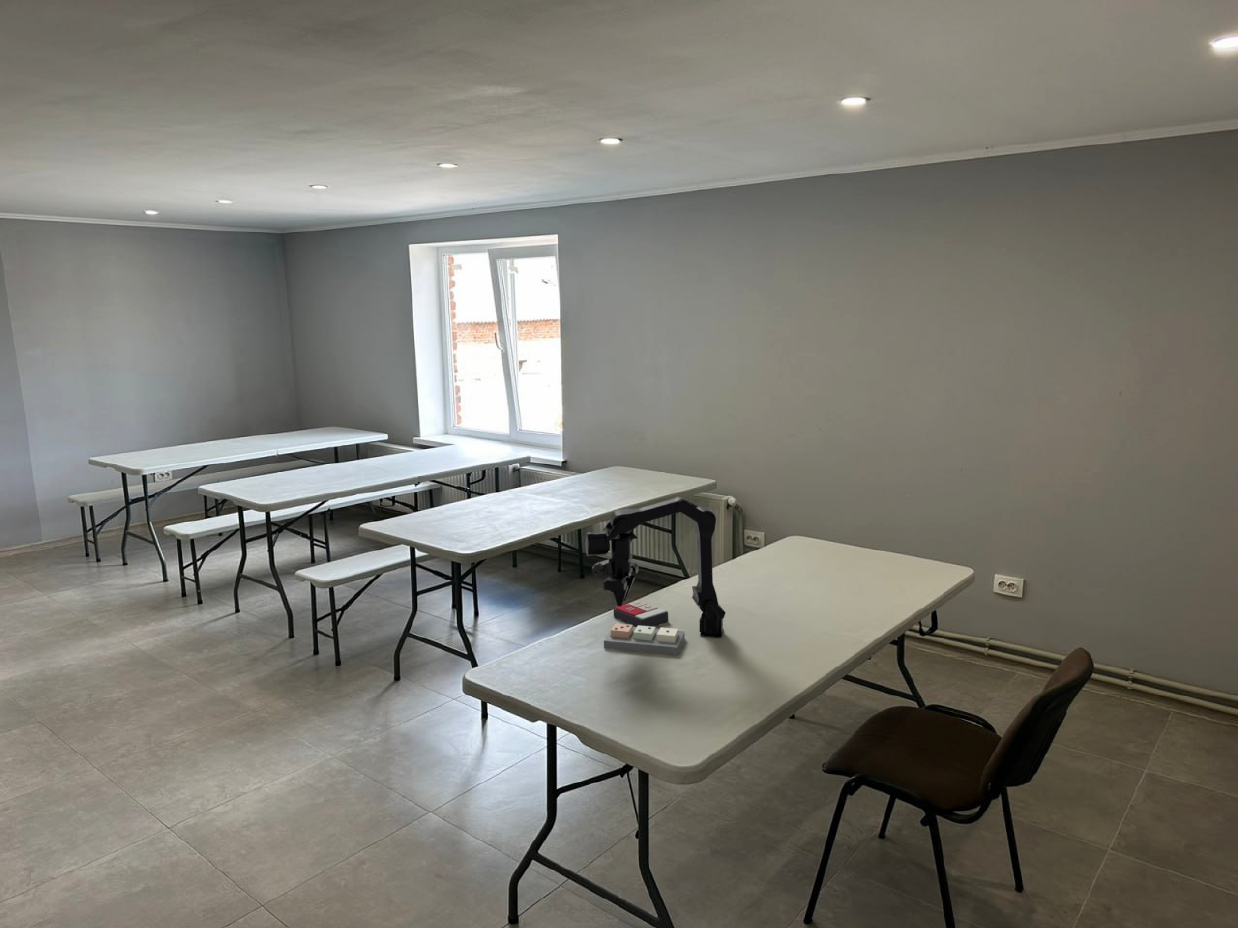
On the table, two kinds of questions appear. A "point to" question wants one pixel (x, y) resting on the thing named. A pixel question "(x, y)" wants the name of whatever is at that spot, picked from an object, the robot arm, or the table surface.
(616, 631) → the tile
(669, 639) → the tile
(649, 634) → the tile
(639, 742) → the table surface
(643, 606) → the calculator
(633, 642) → the console
